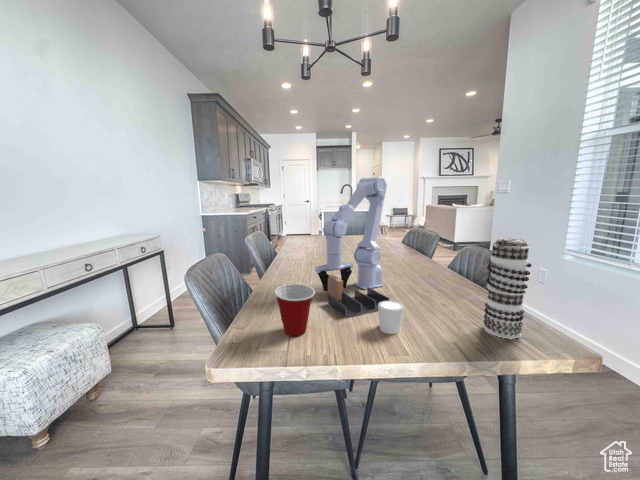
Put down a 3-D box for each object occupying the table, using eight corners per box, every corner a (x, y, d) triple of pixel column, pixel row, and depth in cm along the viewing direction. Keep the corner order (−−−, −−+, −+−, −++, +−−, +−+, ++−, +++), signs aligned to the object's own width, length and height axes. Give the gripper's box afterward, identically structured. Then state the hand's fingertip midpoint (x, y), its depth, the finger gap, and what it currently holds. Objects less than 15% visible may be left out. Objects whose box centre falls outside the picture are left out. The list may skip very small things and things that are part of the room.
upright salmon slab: (331, 291, 101) (331, 274, 100) (343, 299, 93) (343, 280, 92) (327, 292, 100) (327, 274, 99) (338, 300, 92) (338, 281, 91)
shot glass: (403, 325, 73) (404, 301, 72) (402, 337, 67) (403, 311, 66) (378, 321, 76) (379, 298, 74) (375, 333, 69) (376, 308, 68)
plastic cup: (300, 347, 63) (298, 300, 61) (267, 335, 69) (265, 292, 67) (323, 328, 72) (322, 287, 70) (292, 319, 78) (291, 281, 76)
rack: (368, 296, 96) (368, 287, 95) (389, 308, 85) (389, 298, 84) (328, 303, 89) (327, 294, 88) (345, 318, 78) (345, 307, 77)
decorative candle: (496, 320, 75) (504, 235, 71) (531, 336, 67) (543, 240, 63) (473, 326, 72) (480, 238, 68) (507, 343, 63) (518, 243, 60)
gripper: (346, 249, 101) (346, 283, 103) (312, 253, 95) (312, 288, 97) (356, 253, 94) (355, 288, 96) (320, 257, 88) (320, 294, 90)
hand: (334, 289), depth 96 cm, fingers open, 7 cm apart
